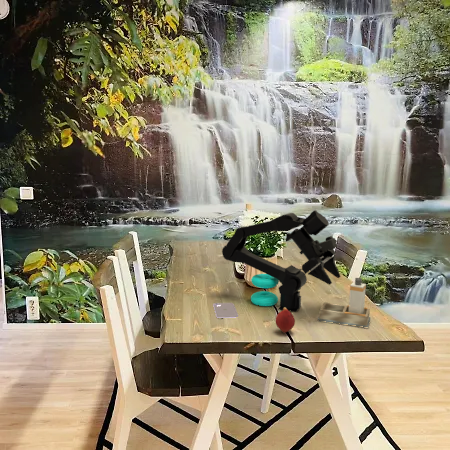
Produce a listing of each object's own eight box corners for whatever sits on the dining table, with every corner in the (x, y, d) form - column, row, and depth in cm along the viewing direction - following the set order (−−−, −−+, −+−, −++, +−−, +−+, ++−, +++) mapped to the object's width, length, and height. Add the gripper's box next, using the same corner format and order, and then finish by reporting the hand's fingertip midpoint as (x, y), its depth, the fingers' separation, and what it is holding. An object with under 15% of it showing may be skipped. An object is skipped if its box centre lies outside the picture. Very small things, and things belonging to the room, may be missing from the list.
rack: (317, 321, 151) (318, 309, 150) (322, 312, 159) (323, 301, 158) (367, 328, 145) (368, 316, 144) (370, 319, 153) (371, 307, 152)
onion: (292, 328, 143) (293, 304, 142) (295, 336, 138) (296, 311, 136) (273, 328, 143) (274, 304, 142) (276, 336, 138) (277, 310, 136)
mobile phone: (216, 317, 150) (212, 302, 165) (216, 320, 151) (212, 304, 165) (239, 316, 151) (233, 301, 166) (239, 319, 151) (233, 304, 166)
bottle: (347, 320, 150) (350, 279, 147) (351, 316, 153) (354, 276, 151) (360, 322, 148) (363, 281, 145) (363, 319, 151) (366, 278, 149)
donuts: (246, 277, 164) (258, 271, 173) (245, 304, 166) (258, 296, 174) (272, 282, 159) (283, 275, 168) (270, 309, 161) (282, 301, 169)
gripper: (313, 233, 144) (345, 273, 140) (332, 225, 160) (361, 261, 156) (288, 253, 149) (318, 292, 146) (309, 244, 165) (337, 279, 161)
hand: (335, 280), depth 152 cm, fingers open, 9 cm apart
